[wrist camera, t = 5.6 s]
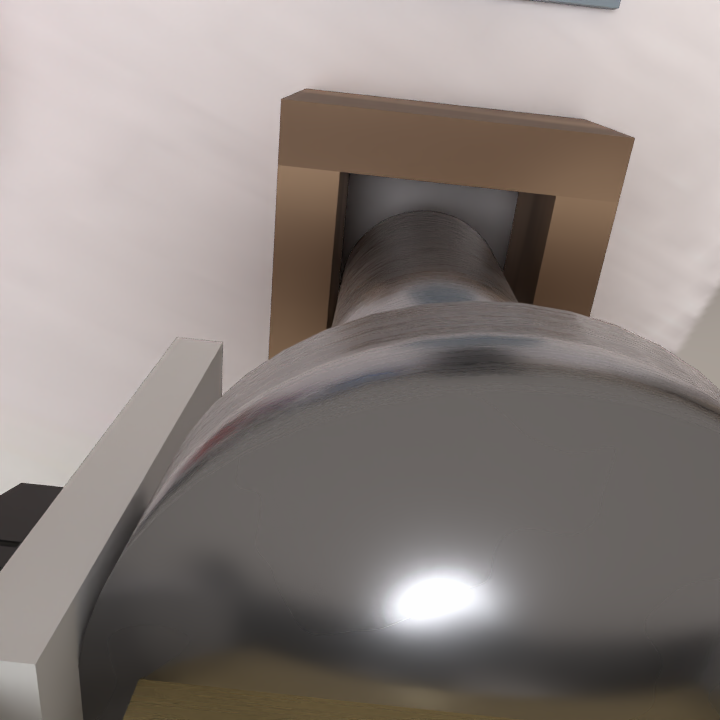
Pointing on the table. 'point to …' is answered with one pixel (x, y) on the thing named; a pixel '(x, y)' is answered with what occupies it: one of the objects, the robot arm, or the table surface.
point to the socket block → (441, 165)
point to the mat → (588, 3)
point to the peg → (429, 519)
